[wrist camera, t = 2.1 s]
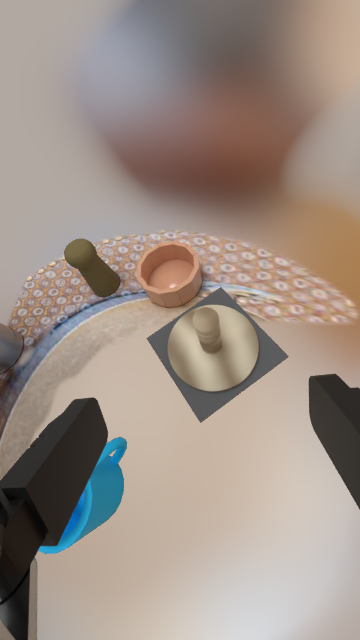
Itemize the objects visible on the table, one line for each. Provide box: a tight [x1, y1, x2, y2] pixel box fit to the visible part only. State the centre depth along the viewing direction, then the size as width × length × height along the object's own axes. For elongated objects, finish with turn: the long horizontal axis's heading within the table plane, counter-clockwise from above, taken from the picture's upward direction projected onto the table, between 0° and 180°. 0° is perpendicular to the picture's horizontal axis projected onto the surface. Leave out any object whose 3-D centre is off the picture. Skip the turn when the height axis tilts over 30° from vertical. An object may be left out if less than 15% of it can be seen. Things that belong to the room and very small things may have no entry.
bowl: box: [137, 241, 202, 308], centre depth 42 cm, size 11×11×5 cm
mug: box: [38, 437, 127, 554], centre depth 29 cm, size 12×8×8 cm
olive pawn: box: [64, 239, 120, 297], centre depth 43 cm, size 6×6×11 cm
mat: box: [147, 287, 288, 422], centre depth 37 cm, size 16×16×1 cm
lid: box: [168, 305, 259, 392], centre depth 32 cm, size 14×14×10 cm
